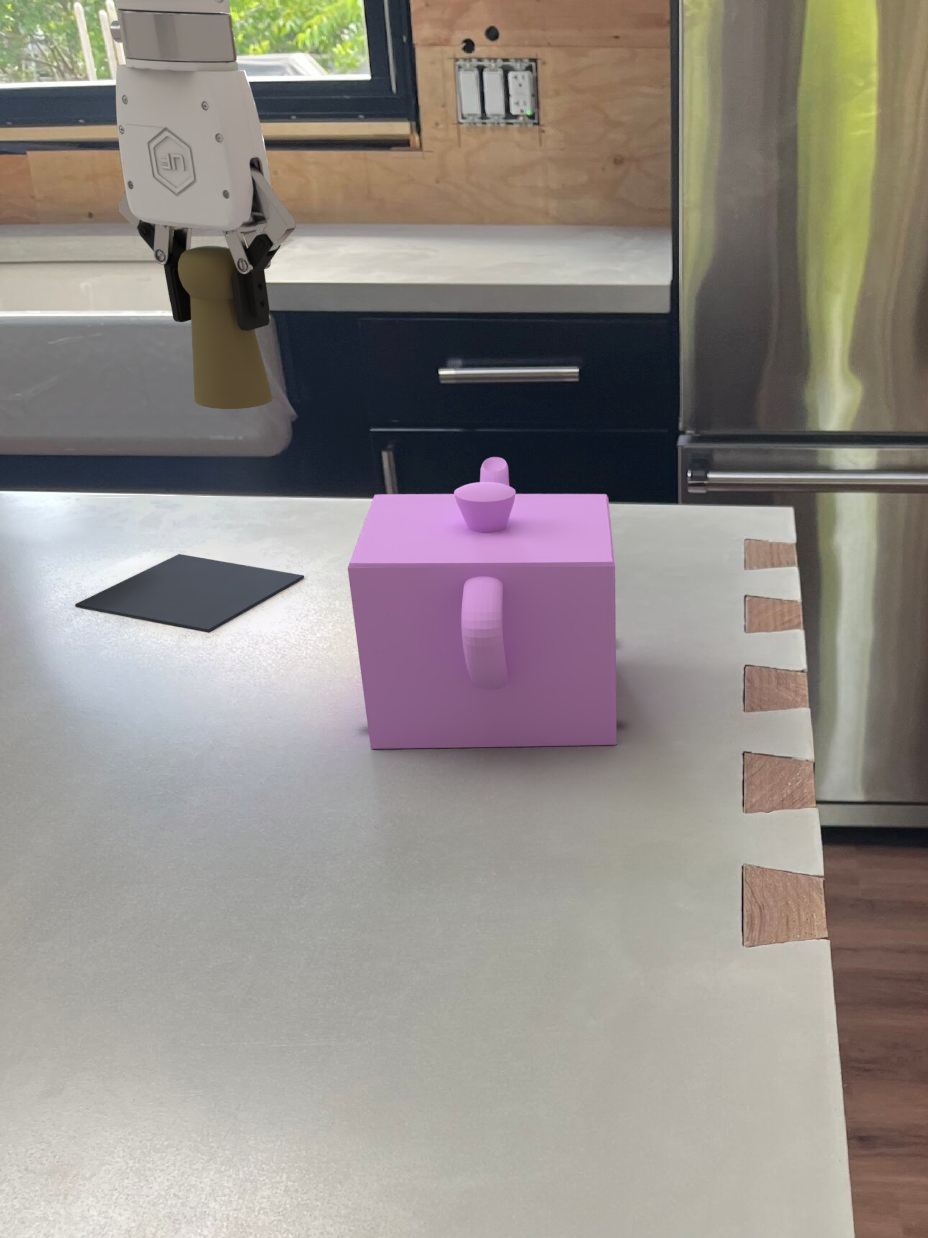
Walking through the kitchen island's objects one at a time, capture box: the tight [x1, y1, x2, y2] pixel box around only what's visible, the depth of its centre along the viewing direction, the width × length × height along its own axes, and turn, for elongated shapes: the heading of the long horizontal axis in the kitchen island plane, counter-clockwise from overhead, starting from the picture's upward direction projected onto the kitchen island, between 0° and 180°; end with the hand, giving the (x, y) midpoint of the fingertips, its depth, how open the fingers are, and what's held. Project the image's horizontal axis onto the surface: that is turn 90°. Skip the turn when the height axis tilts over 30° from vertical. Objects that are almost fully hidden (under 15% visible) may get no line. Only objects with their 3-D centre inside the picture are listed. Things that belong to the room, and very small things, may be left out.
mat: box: [74, 553, 305, 633], centre depth 101 cm, size 12×12×1 cm
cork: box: [178, 245, 274, 410], centre depth 103 cm, size 6×6×11 cm
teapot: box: [347, 456, 618, 750], centre depth 84 cm, size 15×25×14 cm, turn 5°
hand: (221, 320), depth 102 cm, fingers closed on cork, 5 cm apart
